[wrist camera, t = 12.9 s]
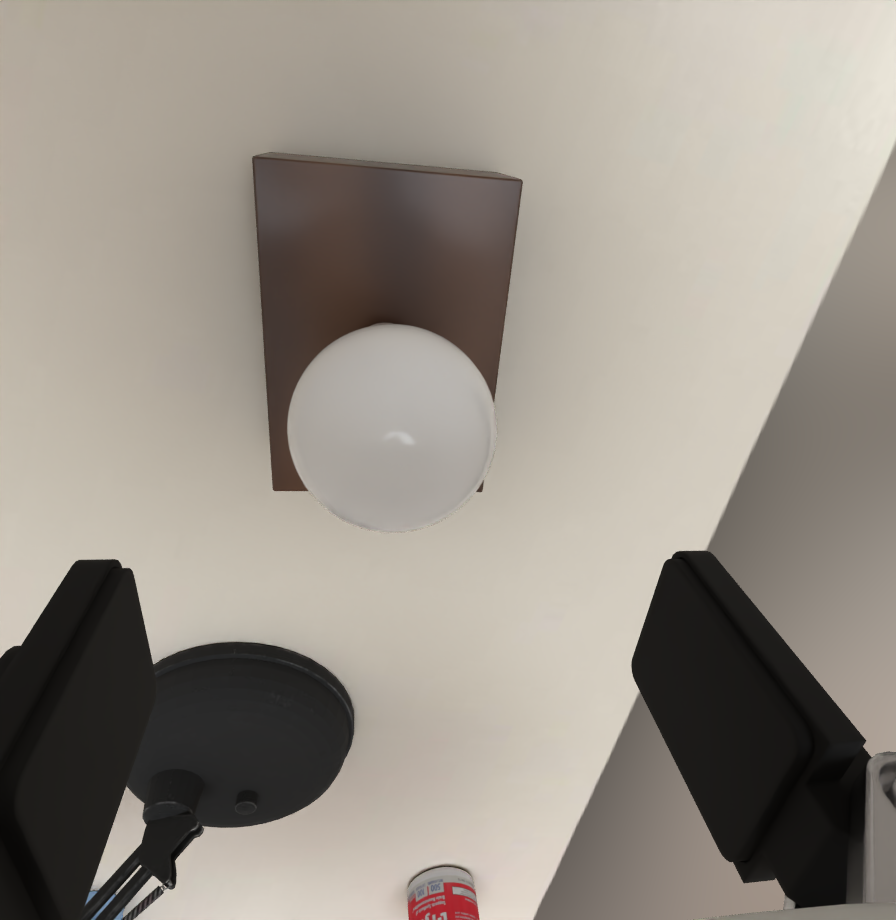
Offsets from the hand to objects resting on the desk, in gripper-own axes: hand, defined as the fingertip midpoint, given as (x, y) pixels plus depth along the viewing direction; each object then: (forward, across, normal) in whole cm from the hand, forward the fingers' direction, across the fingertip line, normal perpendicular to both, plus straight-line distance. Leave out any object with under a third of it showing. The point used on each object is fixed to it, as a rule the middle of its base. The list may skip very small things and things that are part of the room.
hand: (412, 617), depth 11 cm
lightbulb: (+17, 0, +1) cm, 17 cm away
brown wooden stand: (+21, 0, +1) cm, 21 cm away
